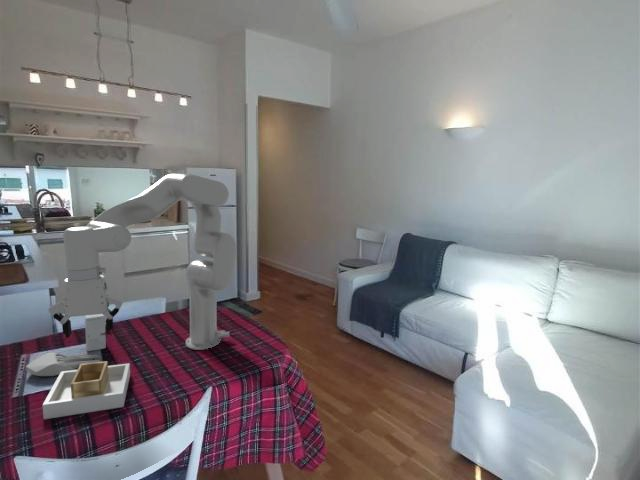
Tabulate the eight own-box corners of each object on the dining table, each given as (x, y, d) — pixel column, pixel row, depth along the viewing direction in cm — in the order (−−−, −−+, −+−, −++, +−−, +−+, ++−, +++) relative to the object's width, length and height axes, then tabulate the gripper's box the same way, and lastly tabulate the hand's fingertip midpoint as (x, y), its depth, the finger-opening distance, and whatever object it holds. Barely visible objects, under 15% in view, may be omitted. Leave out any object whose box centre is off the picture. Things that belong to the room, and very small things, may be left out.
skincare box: (86, 352, 131) (84, 318, 129) (86, 346, 135) (83, 314, 133) (106, 348, 135) (105, 315, 133) (105, 343, 138) (104, 311, 136)
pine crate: (108, 379, 113) (107, 361, 112) (102, 400, 103) (101, 380, 102) (81, 383, 111) (79, 364, 110) (72, 405, 100) (70, 384, 99)
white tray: (130, 375, 118) (129, 363, 117) (123, 406, 102) (122, 393, 102) (62, 384, 112) (61, 371, 111) (43, 419, 96) (42, 404, 95)
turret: (102, 373, 123) (104, 359, 123) (25, 382, 110) (26, 367, 110) (97, 360, 131) (98, 347, 130) (24, 368, 118) (26, 353, 118)
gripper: (122, 267, 107) (126, 324, 111) (49, 271, 101) (55, 331, 105) (118, 274, 101) (122, 335, 104) (40, 279, 95) (47, 343, 98)
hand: (89, 333), depth 104 cm, fingers open, 9 cm apart
